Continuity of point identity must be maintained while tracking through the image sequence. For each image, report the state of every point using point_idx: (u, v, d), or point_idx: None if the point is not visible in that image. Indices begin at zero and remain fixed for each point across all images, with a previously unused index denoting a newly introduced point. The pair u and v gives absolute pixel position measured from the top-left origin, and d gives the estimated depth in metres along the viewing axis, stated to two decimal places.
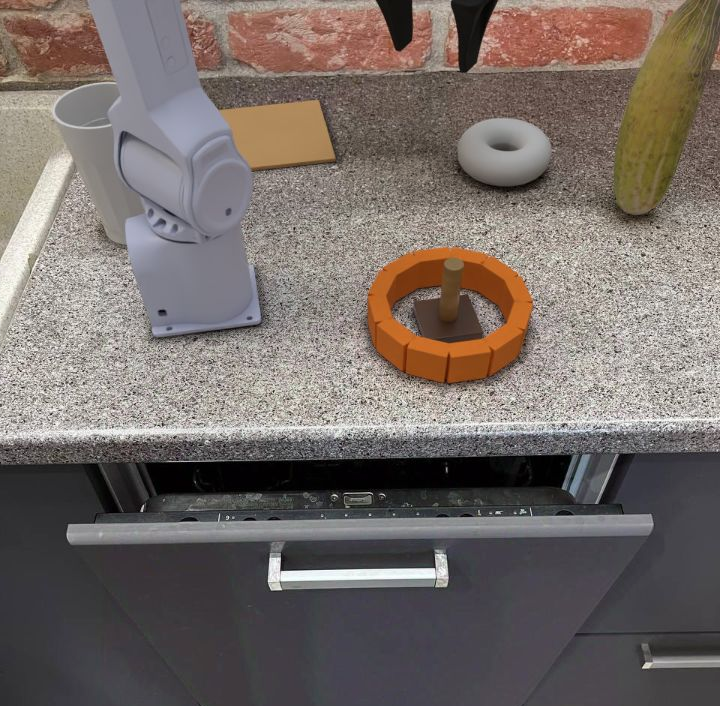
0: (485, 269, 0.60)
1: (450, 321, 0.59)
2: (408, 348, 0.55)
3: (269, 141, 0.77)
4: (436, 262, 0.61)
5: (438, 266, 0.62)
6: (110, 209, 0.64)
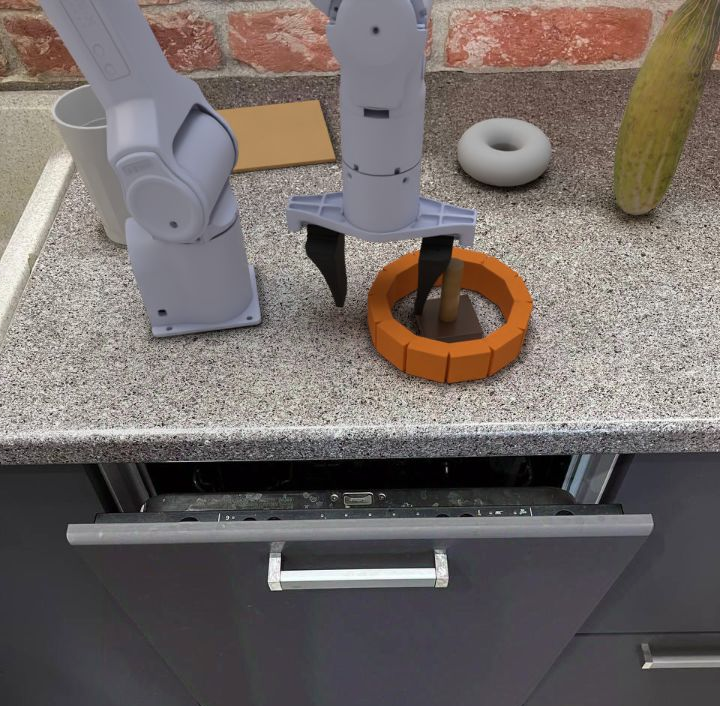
0: (485, 269, 0.60)
1: (450, 321, 0.59)
2: (408, 348, 0.55)
3: (269, 141, 0.77)
4: None
5: None
6: (110, 209, 0.64)
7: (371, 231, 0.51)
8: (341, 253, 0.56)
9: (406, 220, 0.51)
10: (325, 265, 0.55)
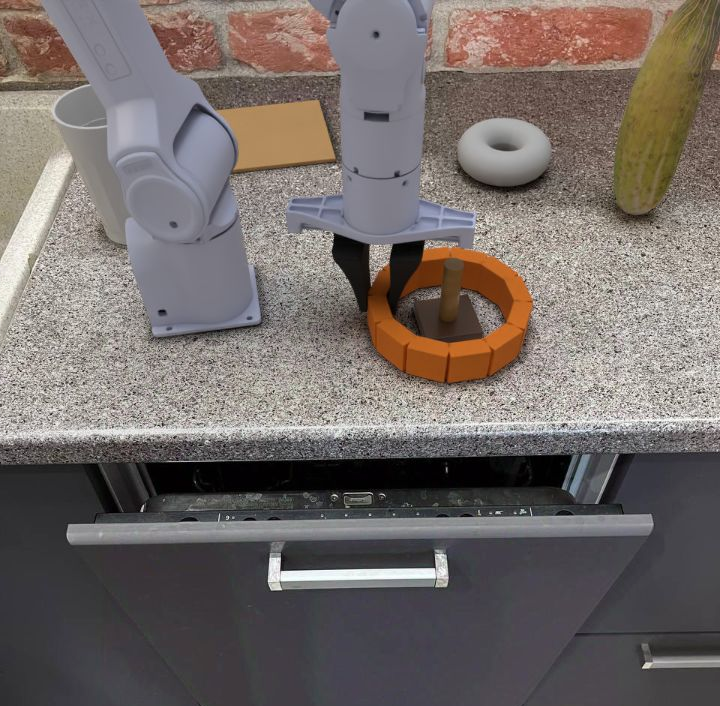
0: (485, 269, 0.60)
1: (450, 321, 0.59)
2: (408, 348, 0.55)
3: (269, 141, 0.77)
4: (436, 261, 0.61)
5: (438, 266, 0.62)
6: (110, 209, 0.64)
7: (371, 233, 0.51)
8: (366, 257, 0.56)
9: (406, 223, 0.51)
10: (351, 269, 0.55)
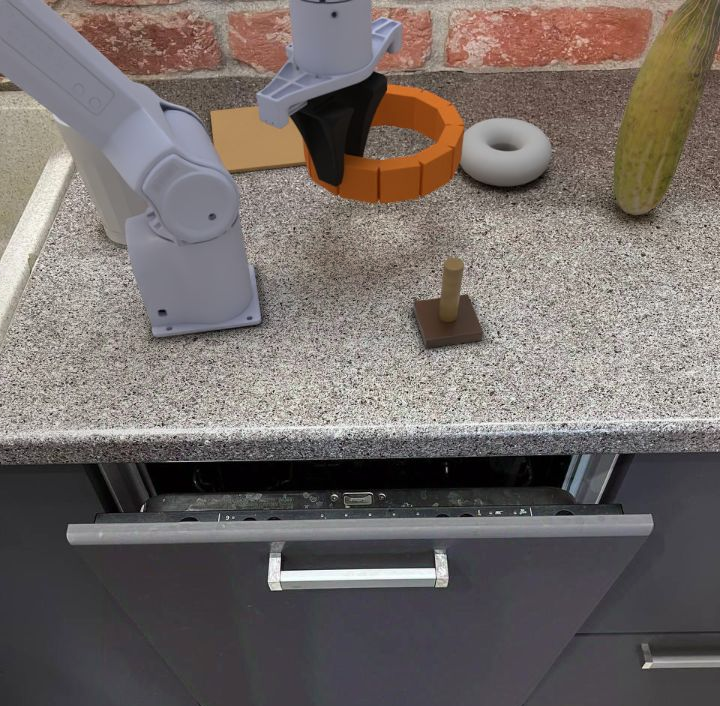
0: None
1: (450, 321, 0.59)
2: (425, 164, 0.55)
3: (269, 141, 0.77)
4: None
5: None
6: (110, 209, 0.64)
7: (362, 67, 0.49)
8: None
9: None
10: (341, 129, 0.51)
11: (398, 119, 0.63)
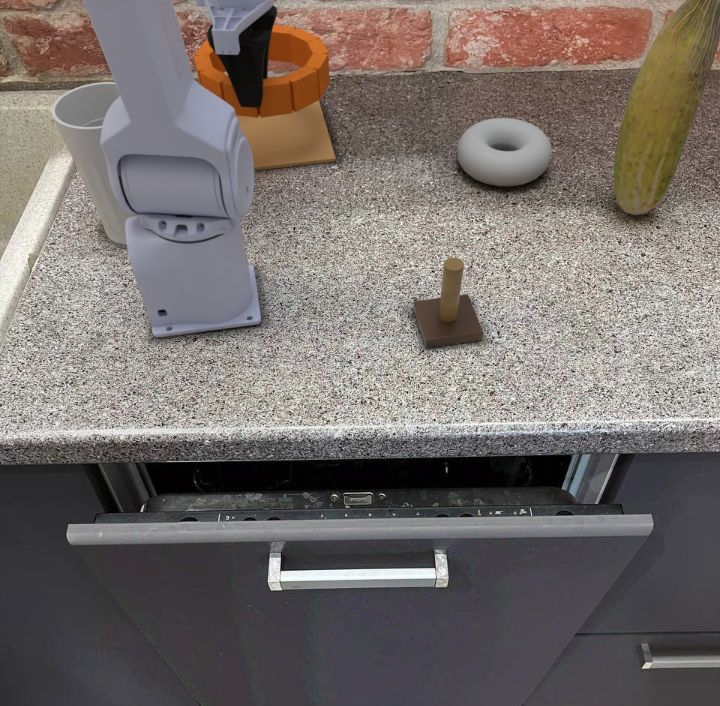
0: None
1: (450, 321, 0.59)
2: (319, 69, 0.69)
3: (269, 141, 0.77)
4: (211, 63, 0.71)
5: None
6: (110, 209, 0.64)
7: None
8: None
9: None
10: (264, 52, 0.64)
11: None
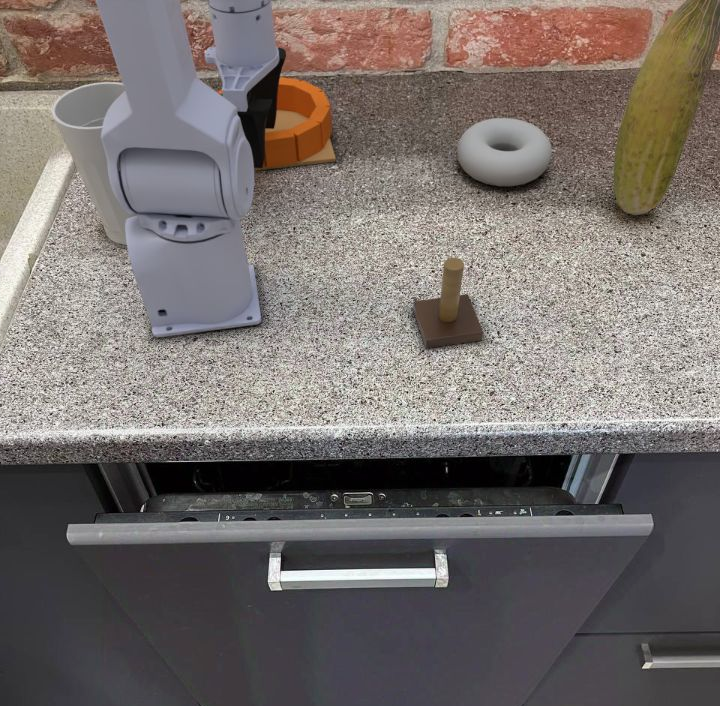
0: None
1: (450, 321, 0.59)
2: (322, 122, 0.74)
3: None
4: None
5: None
6: (110, 210, 0.64)
7: (276, 54, 0.65)
8: None
9: None
10: (266, 118, 0.66)
11: None
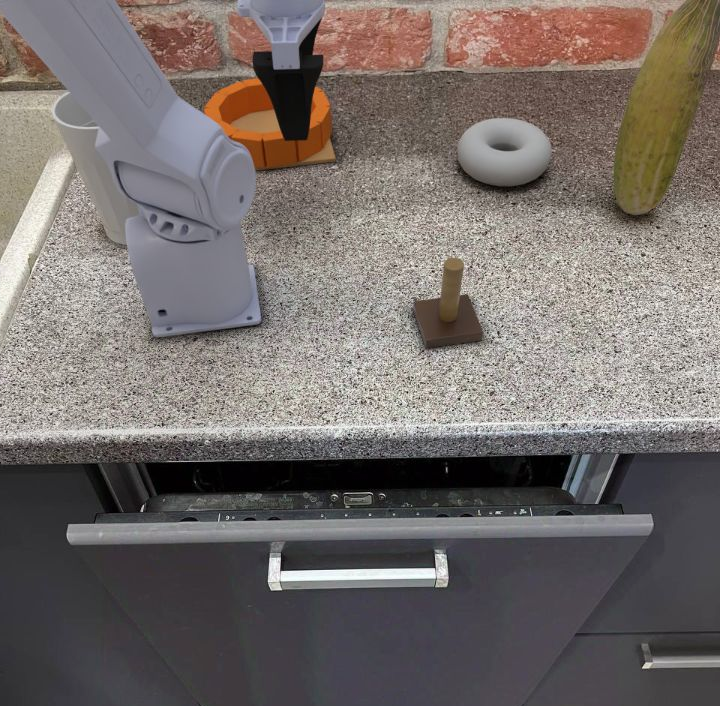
0: (232, 95, 0.78)
1: (450, 321, 0.59)
2: (322, 122, 0.74)
3: None
4: (220, 115, 0.75)
5: None
6: (110, 209, 0.64)
7: (322, 1, 0.55)
8: None
9: None
10: None
11: (260, 104, 0.80)
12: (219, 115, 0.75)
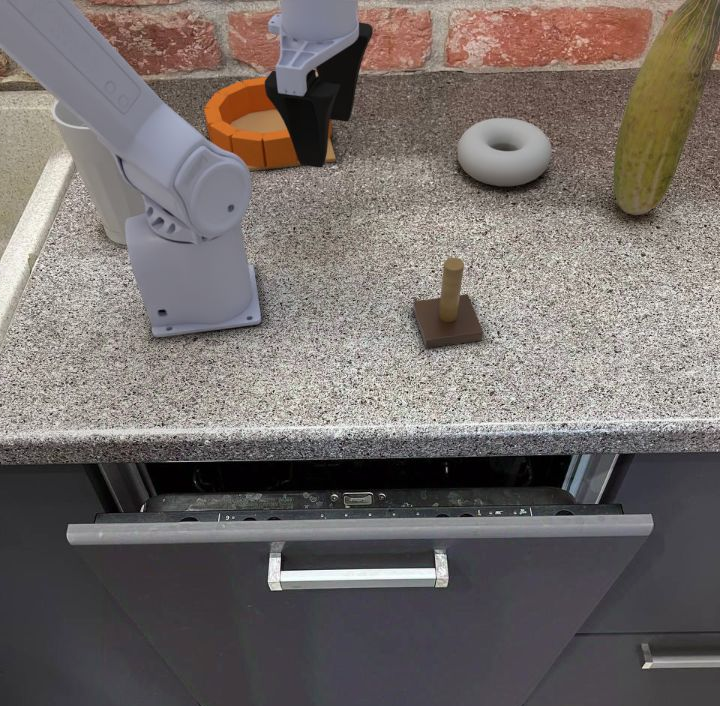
0: (232, 95, 0.78)
1: (450, 321, 0.59)
2: None
3: None
4: (220, 115, 0.75)
5: None
6: (110, 209, 0.64)
7: (354, 28, 0.52)
8: None
9: None
10: (330, 108, 0.53)
11: (260, 104, 0.80)
12: (219, 115, 0.75)
